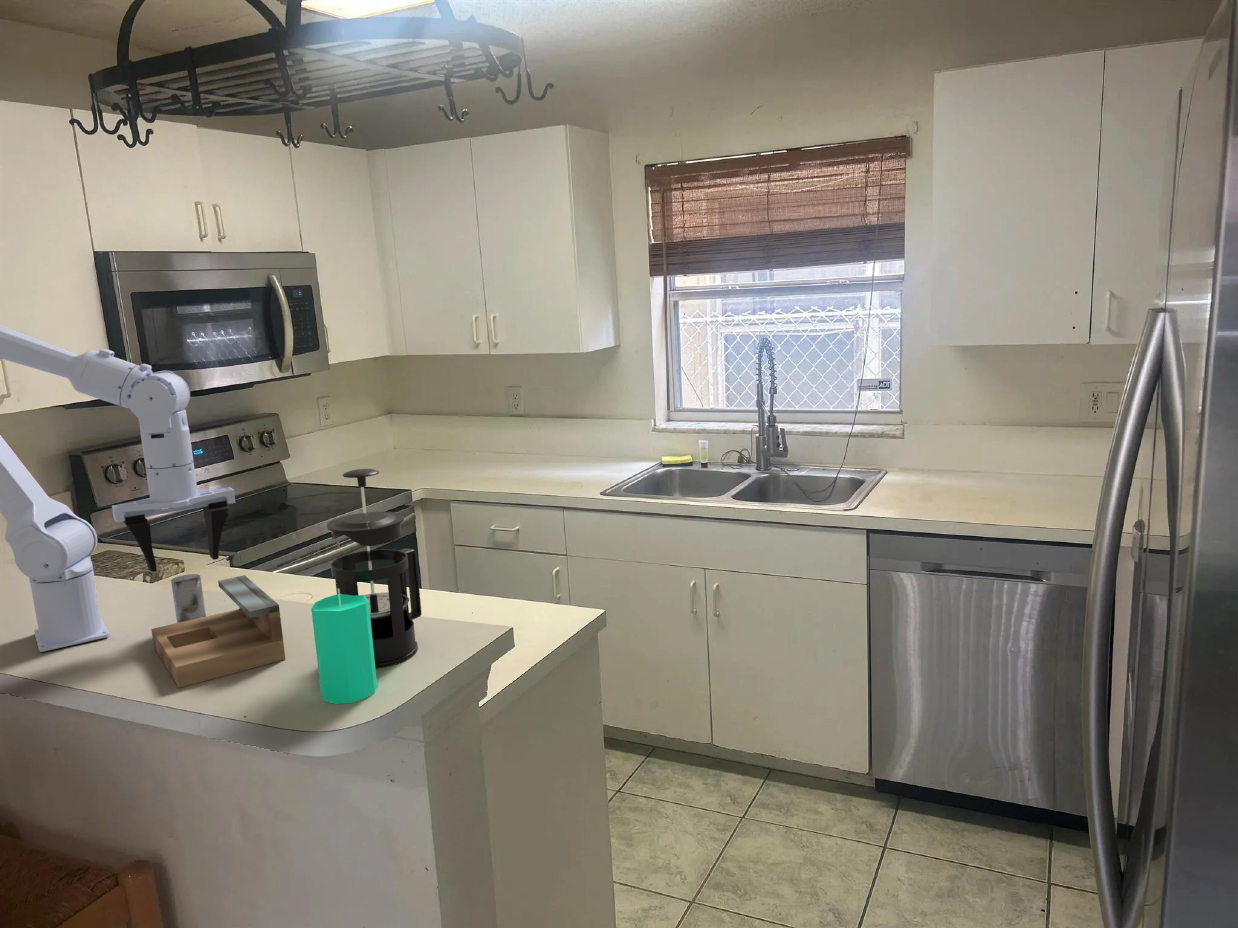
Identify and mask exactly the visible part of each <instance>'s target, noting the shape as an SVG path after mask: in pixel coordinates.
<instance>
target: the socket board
mask: <svg viewBox="0 0 1238 928" xmlns="http://www.w3.org/2000/svg"><path fill="white" fill-rule="evenodd" d="M217 581H218V582H217V583H218V584H217V585H218V587H219V589H220V590H222V592H224V593H225V594H226V595H227V596H228V597H229V598H230V599H231V600H232V602H234V603H235V605H237V606H238V609H237V608H236V609H232V610H229V611H225V612H219V613H217V614H211V615H206V617H202V618H197V619H193V620H189V621H184V622H180V623H177V622H176V623H172V624H167V625H163V626H158V627H154V628H151V636H152V643H153V648H154V650H155V651H156V653H157V655H158V656H159V658H160V660H161V661H162V662H163V664H164V666H165V667H166V669H167V671H168V672H169V674H170V676H171V677H172V680H173V681H174V683H175V684H176V686H177V687H178V688H182V687H183V688H184V687H186V686H191V685H194V684H198V683H202V682H206V681H209V680H213V679H216V678H220V677H224V676H228V675H232V674H236V673H239V672H243V671H247V670H251V669H255V668H259V667H262V666H265V665H269V664H272V663H273V664H274V663H277V662H281V661H284V660H286V652H285V645H284V644H285V643H284V636H283V629H282V628H283V627H282V618H281V611H280V604H278V602H276V601H275V600H274V599H273V598H271V596H270V595H268V594H267V593H266V592H265V591H264V590H262V589H261V588H260V587H259V586H258V585H257V584H256V583H255V582H254V581H253V580H251V578H249V577H247V576H246V574H244V575H238V576H233V577H229V578H225V579H220V580H217Z"/></svg>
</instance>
